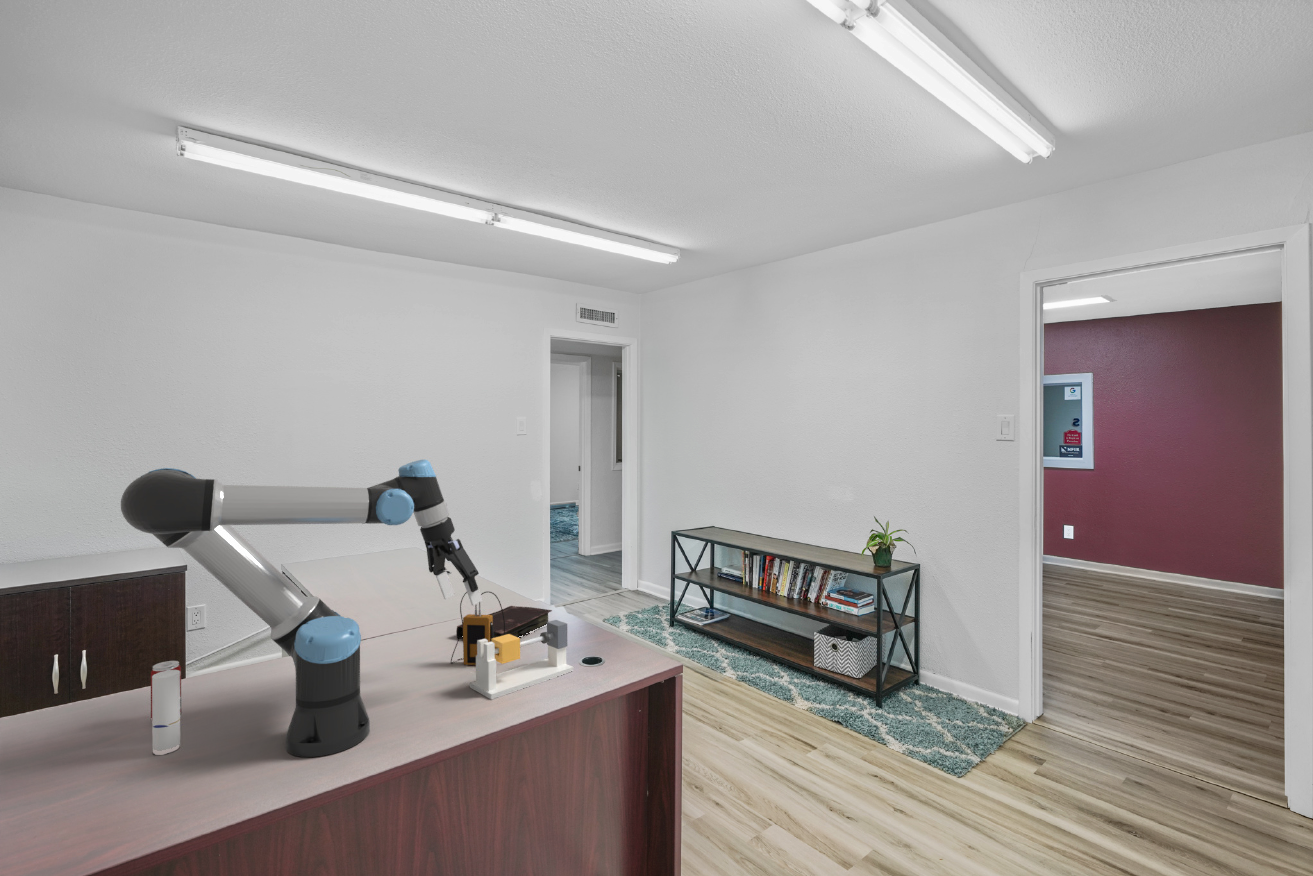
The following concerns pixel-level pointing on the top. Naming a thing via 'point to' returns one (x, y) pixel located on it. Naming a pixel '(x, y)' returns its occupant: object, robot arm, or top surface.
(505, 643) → the cube with square hole
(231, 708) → the top surface
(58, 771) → the top surface
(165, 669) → the soda can
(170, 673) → the tube
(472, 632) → the multimeter
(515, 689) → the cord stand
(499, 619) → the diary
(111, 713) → the top surface
